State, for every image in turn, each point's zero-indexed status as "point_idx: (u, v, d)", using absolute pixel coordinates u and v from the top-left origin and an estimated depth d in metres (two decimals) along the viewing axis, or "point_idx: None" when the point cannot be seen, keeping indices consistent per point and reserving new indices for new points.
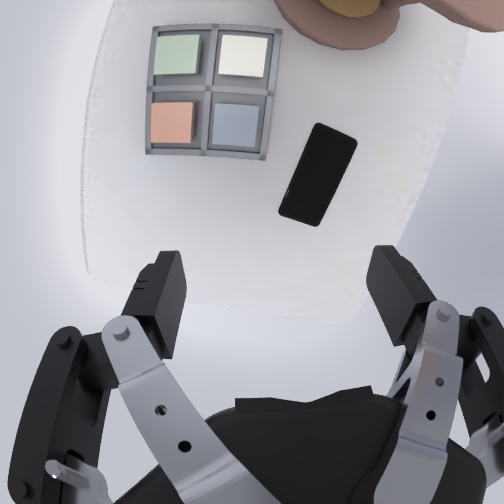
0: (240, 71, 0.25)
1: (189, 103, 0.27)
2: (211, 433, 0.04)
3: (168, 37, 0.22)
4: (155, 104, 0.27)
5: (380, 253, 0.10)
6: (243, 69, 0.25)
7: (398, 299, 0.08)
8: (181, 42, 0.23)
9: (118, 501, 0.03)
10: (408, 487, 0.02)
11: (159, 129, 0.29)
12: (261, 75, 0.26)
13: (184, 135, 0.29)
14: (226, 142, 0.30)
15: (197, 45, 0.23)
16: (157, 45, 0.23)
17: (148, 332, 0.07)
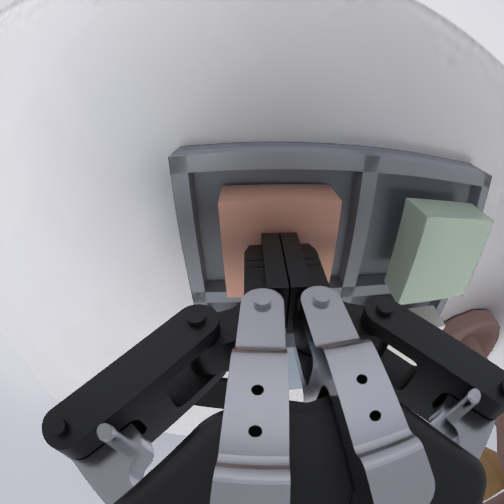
0: None
1: None
2: (286, 433, 0.04)
3: (483, 242, 0.10)
4: (336, 212, 0.11)
5: (280, 240, 0.11)
6: None
7: None
8: (464, 269, 0.11)
9: (118, 501, 0.03)
10: (405, 488, 0.02)
11: (260, 226, 0.11)
12: None
13: None
14: None
15: (446, 296, 0.12)
16: (480, 223, 0.10)
17: None
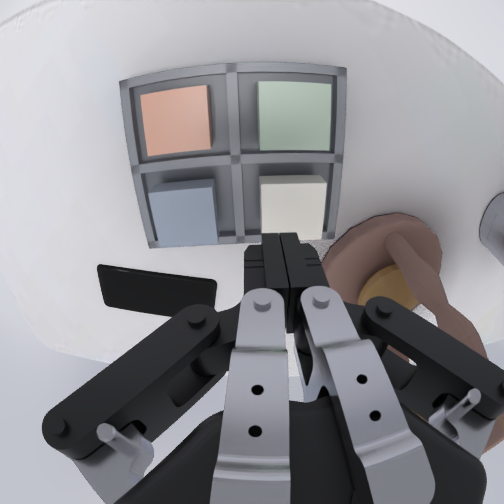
0: (267, 214, 0.21)
1: (208, 144, 0.19)
2: (286, 433, 0.04)
3: (327, 101, 0.16)
4: (203, 91, 0.17)
5: (280, 240, 0.11)
6: (271, 217, 0.21)
7: None
8: (317, 123, 0.17)
9: (118, 501, 0.03)
10: (405, 488, 0.02)
11: (162, 105, 0.17)
12: None
13: (157, 145, 0.19)
14: (155, 212, 0.20)
15: (310, 148, 0.18)
16: (314, 85, 0.15)
17: None
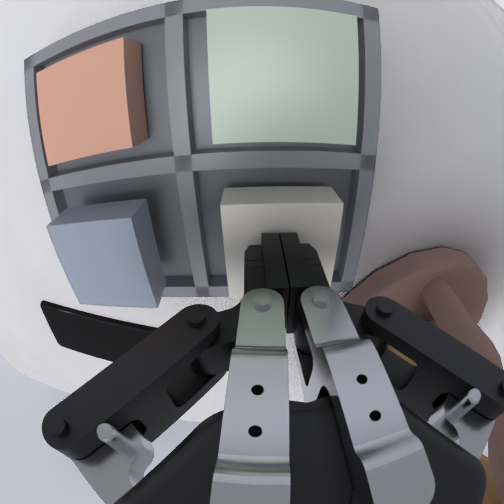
0: (235, 256, 0.12)
1: (128, 139, 0.10)
2: (286, 433, 0.04)
3: (351, 47, 0.07)
4: (119, 48, 0.07)
5: (280, 240, 0.11)
6: (242, 262, 0.12)
7: None
8: (331, 88, 0.08)
9: (118, 501, 0.03)
10: (405, 488, 0.02)
11: (61, 82, 0.08)
12: (233, 296, 0.13)
13: (58, 148, 0.10)
14: (61, 255, 0.11)
15: (317, 140, 0.09)
16: (323, 14, 0.06)
17: None
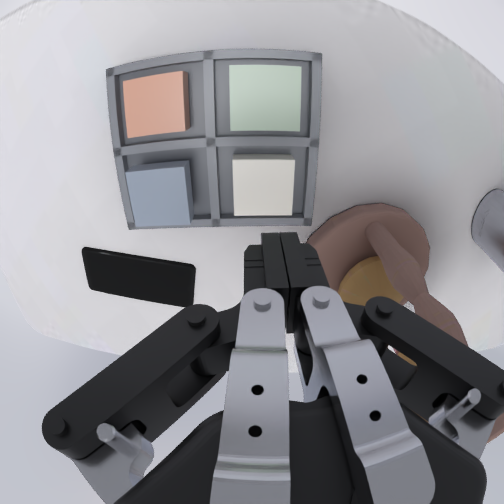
0: (238, 188, 0.22)
1: (183, 126, 0.19)
2: (286, 433, 0.04)
3: (298, 83, 0.16)
4: (180, 76, 0.17)
5: (280, 240, 0.11)
6: (242, 191, 0.22)
7: None
8: (286, 104, 0.17)
9: (118, 501, 0.03)
10: (405, 488, 0.02)
11: (142, 90, 0.17)
12: (236, 213, 0.23)
13: (136, 127, 0.19)
14: (131, 191, 0.20)
15: (280, 129, 0.18)
16: (284, 67, 0.15)
17: None
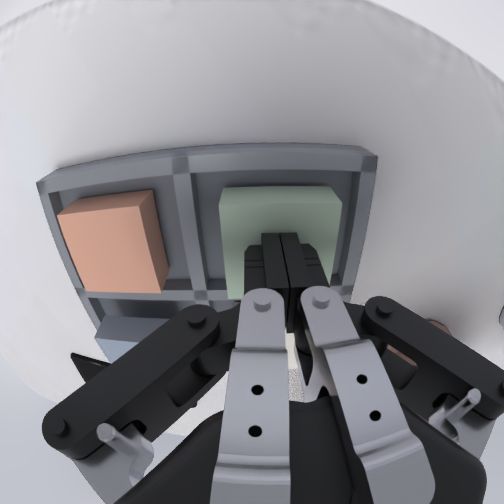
0: None
1: (157, 287, 0.14)
2: (286, 433, 0.04)
3: (333, 231, 0.11)
4: (137, 216, 0.11)
5: (280, 240, 0.11)
6: None
7: None
8: None
9: (118, 501, 0.03)
10: (405, 488, 0.02)
11: (86, 232, 0.12)
12: None
13: (94, 281, 0.13)
14: (108, 354, 0.15)
15: None
16: (314, 206, 0.11)
17: None
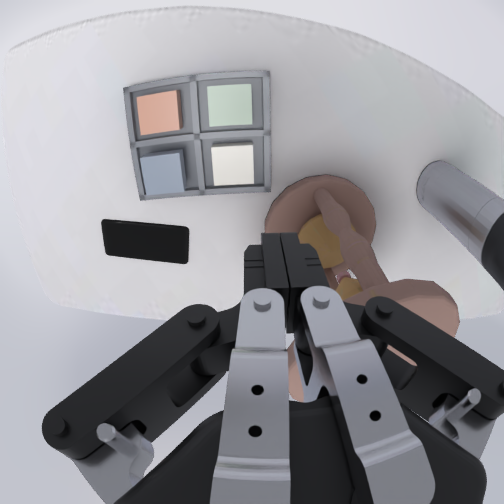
0: (216, 166, 0.32)
1: (178, 126, 0.29)
2: (286, 433, 0.04)
3: (249, 94, 0.27)
4: (174, 94, 0.27)
5: (280, 240, 0.11)
6: (218, 168, 0.32)
7: None
8: (243, 108, 0.28)
9: (118, 501, 0.03)
10: (404, 488, 0.02)
11: (149, 103, 0.27)
12: (215, 184, 0.33)
13: (146, 128, 0.29)
14: (144, 170, 0.30)
15: (240, 124, 0.29)
16: (240, 85, 0.26)
17: None
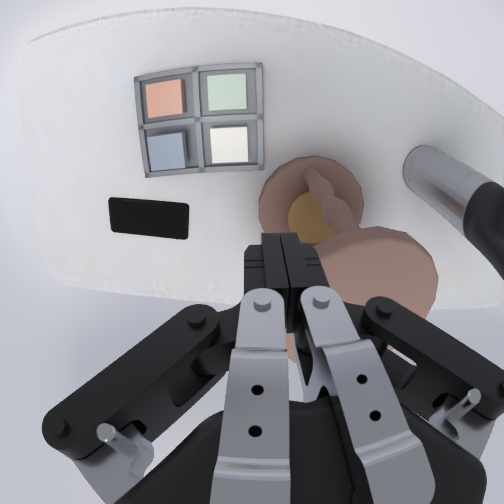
0: (214, 145, 0.35)
1: (181, 110, 0.32)
2: (286, 433, 0.04)
3: (244, 83, 0.30)
4: (179, 82, 0.30)
5: (280, 240, 0.11)
6: (216, 147, 0.35)
7: None
8: (238, 94, 0.31)
9: (118, 501, 0.03)
10: (405, 488, 0.02)
11: (157, 90, 0.30)
12: (213, 161, 0.36)
13: (153, 112, 0.32)
14: (150, 148, 0.34)
15: (235, 108, 0.32)
16: (236, 75, 0.30)
17: None
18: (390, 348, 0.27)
